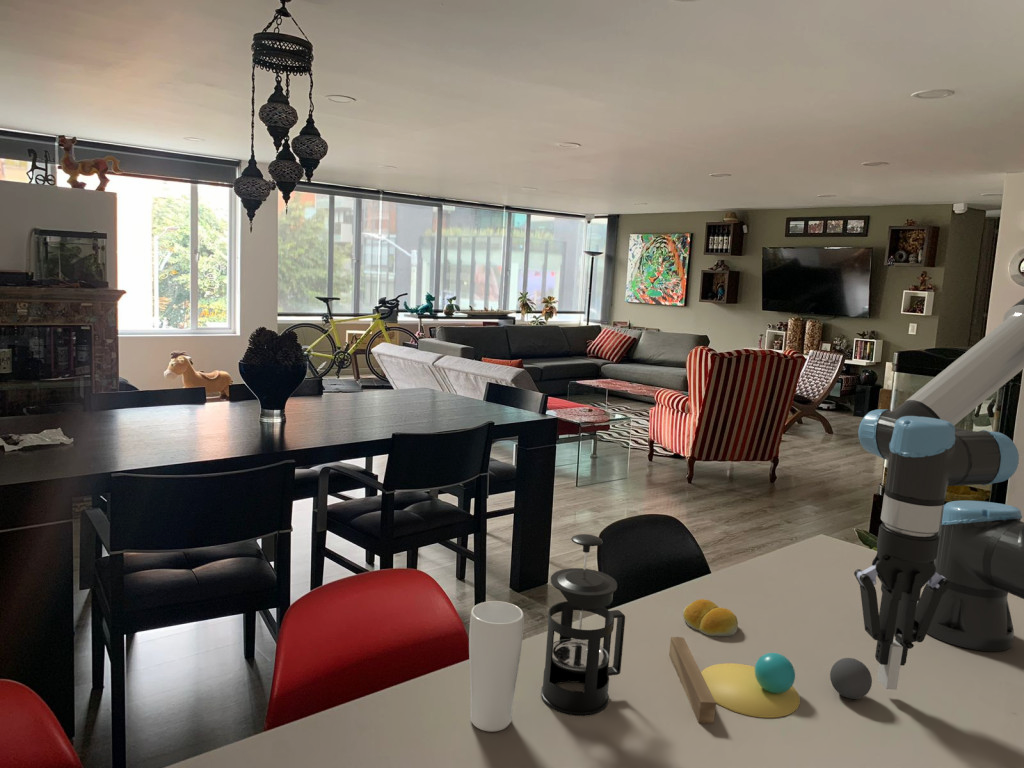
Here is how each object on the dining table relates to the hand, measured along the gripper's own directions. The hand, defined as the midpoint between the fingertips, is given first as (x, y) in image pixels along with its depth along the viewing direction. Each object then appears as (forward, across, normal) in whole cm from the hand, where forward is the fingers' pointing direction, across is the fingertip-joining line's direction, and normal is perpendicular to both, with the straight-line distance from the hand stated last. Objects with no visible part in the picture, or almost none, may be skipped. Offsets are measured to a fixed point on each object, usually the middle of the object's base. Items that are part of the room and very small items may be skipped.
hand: (886, 684), depth 110 cm
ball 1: (-1, +16, 0) cm, 16 cm away
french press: (+2, +45, +4) cm, 45 cm away
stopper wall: (+2, +28, 0) cm, 29 cm away
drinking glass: (+2, +57, +11) cm, 58 cm away
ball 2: (-1, +6, 0) cm, 6 cm away
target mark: (+2, +20, 0) cm, 20 cm away
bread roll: (+2, +20, -20) cm, 29 cm away
